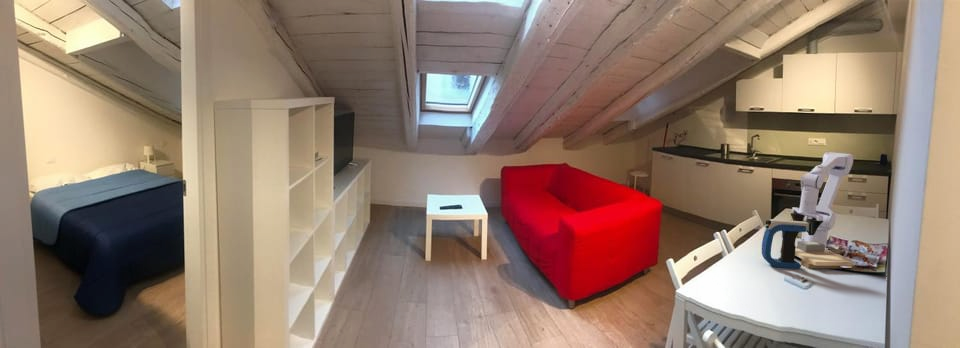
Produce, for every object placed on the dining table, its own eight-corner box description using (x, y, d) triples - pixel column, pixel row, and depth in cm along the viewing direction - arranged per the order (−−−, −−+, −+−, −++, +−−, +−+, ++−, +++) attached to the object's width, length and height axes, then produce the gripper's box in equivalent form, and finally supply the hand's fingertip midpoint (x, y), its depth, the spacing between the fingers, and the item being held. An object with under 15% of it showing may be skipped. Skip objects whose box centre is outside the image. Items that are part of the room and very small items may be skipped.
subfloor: (777, 252, 199) (779, 244, 198) (818, 252, 199) (819, 244, 199) (811, 270, 179) (813, 261, 179) (856, 270, 180) (858, 262, 179)
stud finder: (796, 247, 195) (797, 240, 194) (815, 248, 195) (816, 240, 194) (805, 252, 190) (806, 244, 189) (824, 252, 190) (825, 244, 189)
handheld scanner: (807, 270, 179) (814, 222, 176) (763, 266, 182) (769, 220, 179) (802, 266, 183) (808, 220, 180) (758, 263, 186) (764, 217, 183)
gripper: (787, 197, 201) (783, 227, 204) (813, 206, 187) (808, 237, 189) (802, 197, 202) (797, 227, 204) (829, 205, 187) (824, 237, 190)
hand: (804, 232), depth 197 cm, fingers open, 7 cm apart
